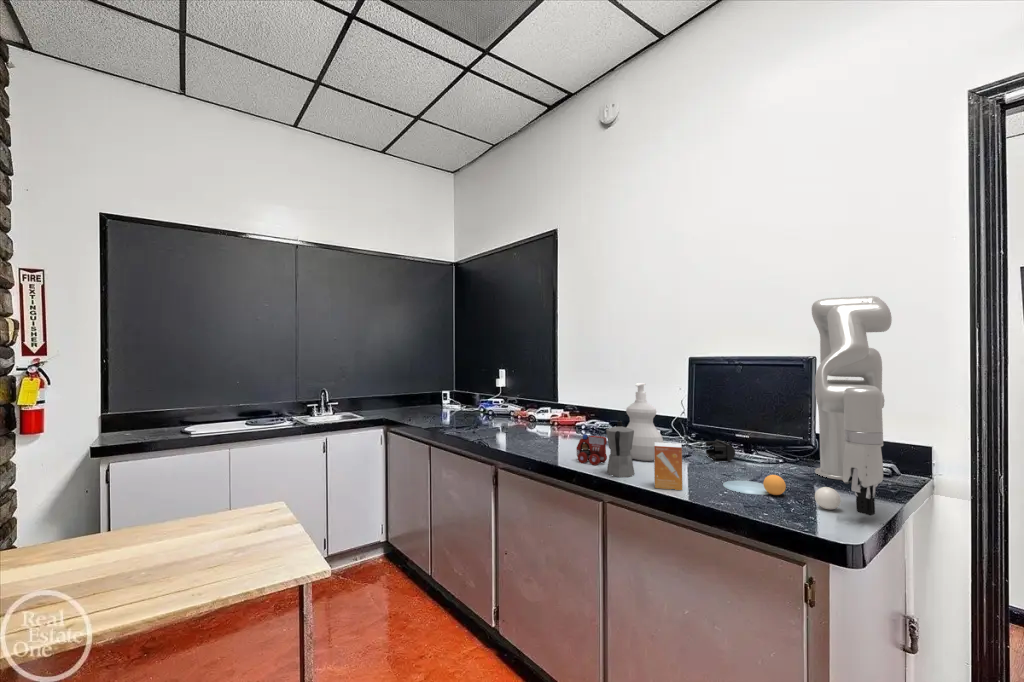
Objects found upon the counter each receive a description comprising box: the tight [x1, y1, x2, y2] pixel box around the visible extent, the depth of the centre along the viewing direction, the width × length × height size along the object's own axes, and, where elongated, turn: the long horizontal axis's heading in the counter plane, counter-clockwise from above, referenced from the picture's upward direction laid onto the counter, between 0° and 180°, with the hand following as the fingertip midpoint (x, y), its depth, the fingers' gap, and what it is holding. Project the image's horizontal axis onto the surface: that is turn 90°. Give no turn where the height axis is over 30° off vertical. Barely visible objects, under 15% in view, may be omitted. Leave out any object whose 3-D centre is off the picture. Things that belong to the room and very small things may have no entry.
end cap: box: [705, 439, 736, 462], centre depth 174 cm, size 10×7×7 cm
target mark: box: [722, 479, 771, 496], centre depth 137 cm, size 14×14×1 cm
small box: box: [653, 442, 683, 491], centre depth 139 cm, size 8×6×13 cm
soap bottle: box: [625, 382, 664, 462], centre depth 176 cm, size 17×12×29 cm
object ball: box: [762, 474, 787, 496], centre depth 131 cm, size 6×6×6 cm
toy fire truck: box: [576, 433, 608, 466], centre depth 171 cm, size 7×12×10 cm, turn 49°
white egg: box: [814, 486, 842, 511], centre depth 118 cm, size 6×6×6 cm
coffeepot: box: [605, 420, 635, 478], centre depth 154 cm, size 15×9×18 cm, turn 160°
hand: (865, 513), depth 111 cm, fingers closed
